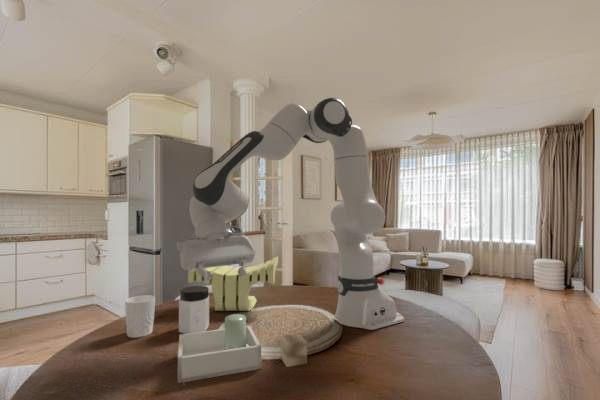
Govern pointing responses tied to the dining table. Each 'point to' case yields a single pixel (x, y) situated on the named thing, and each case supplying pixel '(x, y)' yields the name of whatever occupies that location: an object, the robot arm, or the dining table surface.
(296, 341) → the beech cube
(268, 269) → the slatted curved stool
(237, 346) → the sage cylinder
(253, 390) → the dining table surface
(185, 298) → the jar
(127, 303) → the white cup
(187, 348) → the tote
